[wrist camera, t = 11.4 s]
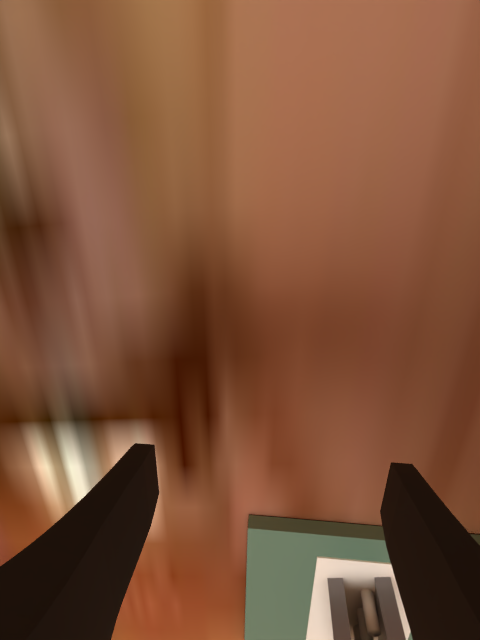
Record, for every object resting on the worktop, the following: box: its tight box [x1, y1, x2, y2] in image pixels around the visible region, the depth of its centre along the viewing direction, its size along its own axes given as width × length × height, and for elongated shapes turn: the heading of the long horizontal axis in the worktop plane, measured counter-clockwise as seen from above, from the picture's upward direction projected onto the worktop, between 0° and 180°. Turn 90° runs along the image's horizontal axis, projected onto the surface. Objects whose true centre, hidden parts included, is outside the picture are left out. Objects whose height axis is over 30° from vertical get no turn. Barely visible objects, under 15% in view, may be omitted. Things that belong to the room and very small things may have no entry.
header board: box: [245, 515, 480, 640], centre depth 27 cm, size 16×14×4 cm
